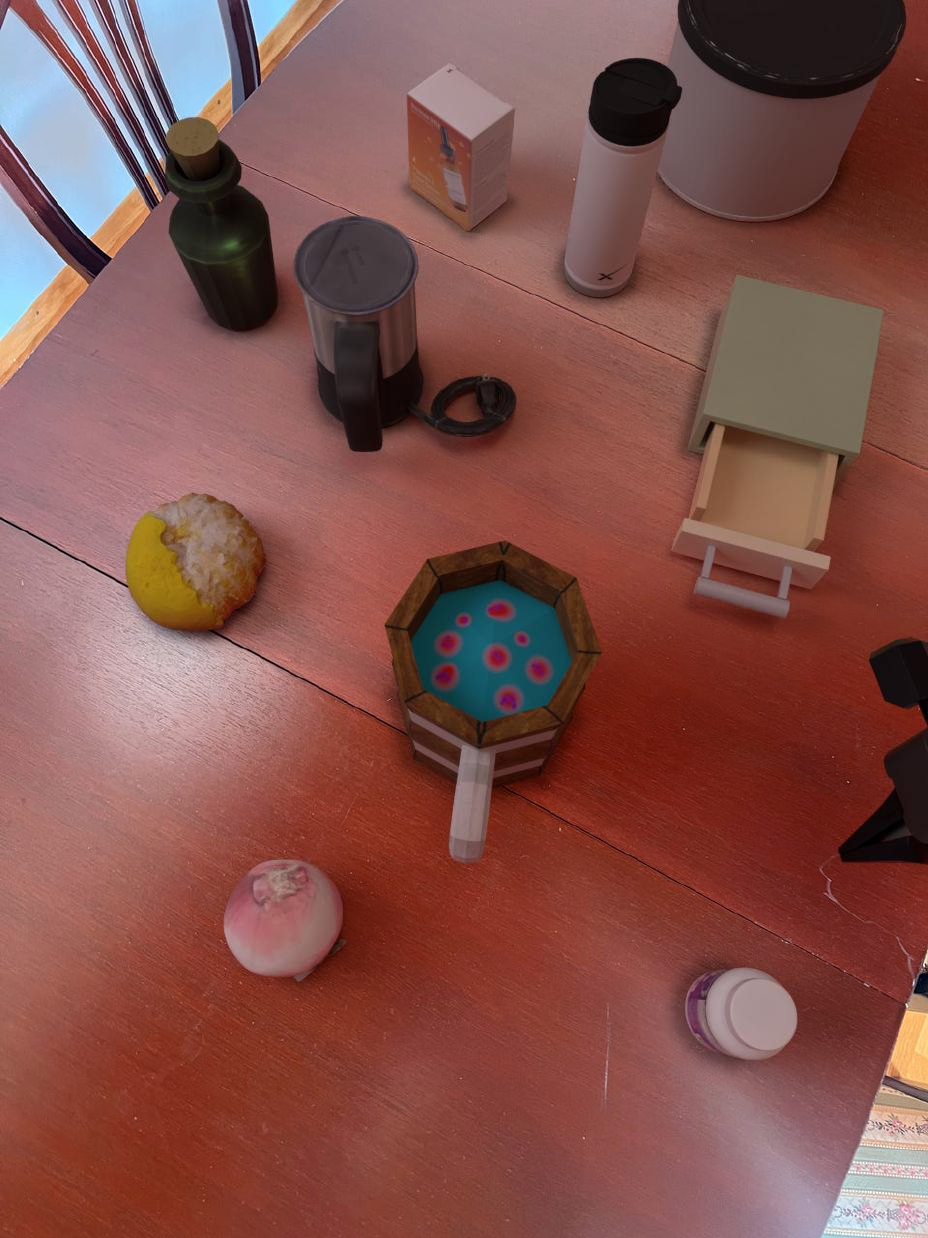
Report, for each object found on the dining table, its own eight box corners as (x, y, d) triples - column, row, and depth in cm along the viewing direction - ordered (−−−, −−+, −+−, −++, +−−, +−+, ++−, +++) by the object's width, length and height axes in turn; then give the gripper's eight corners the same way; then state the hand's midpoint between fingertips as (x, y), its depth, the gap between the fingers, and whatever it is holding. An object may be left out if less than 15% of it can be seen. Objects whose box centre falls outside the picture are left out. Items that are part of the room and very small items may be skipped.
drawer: (802, 637, 74) (820, 619, 71) (659, 597, 75) (669, 578, 72) (836, 449, 80) (854, 424, 77) (703, 415, 82) (715, 388, 78)
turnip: (350, 865, 68) (339, 851, 62) (348, 980, 65) (336, 979, 59) (238, 867, 68) (215, 853, 61) (231, 983, 65) (205, 982, 59)
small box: (408, 188, 92) (403, 91, 82) (449, 157, 93) (448, 58, 83) (468, 234, 90) (471, 140, 80) (509, 201, 91) (516, 105, 81)
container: (611, 118, 95) (638, -33, 81) (766, 56, 99) (819, -98, 85) (716, 250, 89) (765, 112, 75) (878, 180, 93) (953, 35, 79)
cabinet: (833, 488, 80) (860, 453, 75) (686, 450, 81) (703, 413, 76) (858, 351, 85) (884, 309, 80) (719, 317, 86) (736, 273, 81)
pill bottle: (741, 958, 66) (787, 953, 57) (774, 1038, 64) (826, 1045, 56) (670, 985, 66) (704, 983, 57) (701, 1065, 64) (742, 1077, 55)
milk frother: (306, 354, 84) (278, 229, 70) (475, 311, 86) (480, 181, 72) (349, 490, 79) (328, 384, 66) (528, 440, 81) (544, 328, 68)
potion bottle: (210, 261, 88) (153, 88, 71) (296, 273, 88) (259, 102, 71) (186, 332, 85) (121, 170, 68) (276, 345, 85) (232, 185, 68)
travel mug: (615, 310, 87) (661, 122, 68) (551, 281, 88) (578, 88, 69) (645, 262, 89) (697, 68, 70) (581, 234, 90) (616, 36, 71)
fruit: (278, 632, 74) (226, 598, 67) (159, 653, 77) (96, 622, 69) (276, 503, 78) (227, 458, 71) (163, 527, 81) (105, 486, 73)
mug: (410, 613, 75) (400, 527, 61) (580, 634, 75) (610, 552, 61) (369, 866, 68) (348, 833, 54) (557, 891, 68) (584, 865, 54)
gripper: (952, 555, 45) (709, 693, 56) (1141, 962, 36) (808, 1035, 47) (1061, 601, 52) (823, 717, 62) (1246, 958, 42) (931, 1024, 53)
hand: (843, 856), depth 56 cm, fingers closed
